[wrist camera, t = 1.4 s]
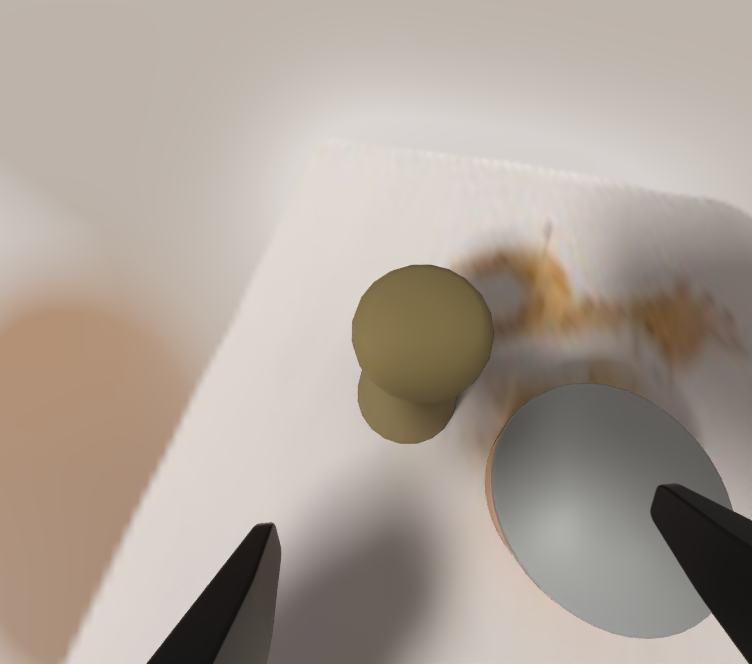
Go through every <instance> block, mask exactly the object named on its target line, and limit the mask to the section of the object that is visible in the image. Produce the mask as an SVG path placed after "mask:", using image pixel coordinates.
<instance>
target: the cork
mask: <svg viewBox="0 0 752 664" xmlns="http://www.w3.org/2000/svg"><path fill="white" fill-rule="evenodd" d="M493 338H494V330H493V323H492V317H491V312H490V310H489V308H488V306H487V304H486V303H485V301H484V299H483V297H482V295H481V294H480V293H479V292H478V291H477V290H476V289H475V288H474V287H473V286H472V285H471V284H470V283H469V282H468V281H467V280H466V279H465V278H463V277H462V276H460V275H458V274H456V273H455V272H453V271H451V270H449V269H446V268H442V267H438V266H434V265H410V266H407V267H403V268H400V269H396V270H393V271H391V272H389V273H387V274H386V275H384V276H383V277H381V278H380V279H378V280H377V281H375V282H374V283H373V284H372V285H371V286H370V287H369V289H368V290H367V291H366V292H365V294H364V295H363V296H362V297H361V300H360V302H359V305H358V308H357V310H356V313H355V316H354V318H353V321H352V343H353V347H354V350H355V353H356V356H357V359H358V362H359V365H360V367H361V368H362V372H361V376H360V380H359V384H358V403H359V406H360V409H361V413H362V416H363V417H364V419H365V420H366V421H367V423H368V424H369V426H370V427H371V428H372V429H373V430H374V431H375V432H377V433H378V434H379V435H381V436H382V437H383V438H385V439H388V440H391V441H394V442H397V443H400V444H417V443H420V442H423V441H425V440H428V439H431V438H433V437H434V436H435V435H437V434H438V433H439V432H440V431H442V430H443V429H444V428H445V426H446V425H447V423H448V422H449V420H450V419H451V417H452V415H453V411H454V407H455V403H456V399H457V395H458V394H459V393H460V392H462V391H463V390H464V389H466V388H467V387H468V386H469V385H471V384H472V383H473V382H474V381H475V380H476V379H477V378H478V377H479V375H480V374H481V372H482V370H483V369H484V367H485V366H486V364H487V362H488V361H489V358H490V353H491V348H492V343H493Z"/></svg>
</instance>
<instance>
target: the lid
mask: <svg viewBox="0 0 752 664" xmlns="http://www.w3.org/2000/svg"><path fill="white" fill-rule="evenodd" d="M671 483H676V484H680V485H682V486H685V487H687V488H689V489H690V490H692V491H694V492H696V493H698V494H700V495H702V496H704V497H706V498H708V499H710V500H712V501H714V502H716V503H718V504H720V505H722V506H724V507H726V508H728V509H730V510H732V511H733V509H732V506H731V503H730V499H729V496H728V493H727V491H726V488H725V486H724V484H723V481H722V479H721V477H720V475H719V473H718V472H717V470H716V468H715V466H714V464H713V463H712V461H711V460H710V458H709V457H708V455H707V454H706V452H705V451H704V449H703V448H702V447H701V446H700V444H699V443H698V442H697V441H696V440H695V438H694V437H693V436H692V435H691V434H690V433H689V432H688V431H687V430H686V429H685V428H684V427H683V426H682V425H681V424H680V423H679V422H678V421H677V420H675V419H674V418H673V417H672V416H670V415H669V414H668V413H667V412H665V411H664V410H662V409H661V408H659V407H658V406H656V405H655V404H653V403H652V402H650V401H648V400H646V399H644V398H642V397H640V396H638V395H636V394H633V393H631V392H628V391H626V390H623V389H619V388H616V387H612V386H607V385H601V384H590V383H580V384H570V385H565V386H560V387H557V388H554V389H551V390H549V391H546V392H544V393H542V394H541V395H539V396H537V397H535V398H533V399H532V400H530V401H529V402H527V403H526V404H525V405H523V406H522V407H521V408H520V409H519V410H518V411H517V412H516V413H515V414H514V415H513V416H512V417H511V418H510V420H509V421H508V423H507V424H506V425H505V427H504V429H503V431H502V433H501V435H500V437H499V439H498V442H497V445H496V448H495V451H494V455H493V461H492V467H491V490H492V499H493V504H494V509H495V513H496V517H497V520H498V523H499V526H500V529H501V531H502V534H503V536H504V538H505V540H506V543H507V545H508V546H509V548H510V550H511V552H512V553H513V555H514V557H515V559H516V560H517V562H518V563H519V564H520V566H521V567H522V569H523V570H524V571H525V573H526V574H527V575H528V576H529V577H530V578H531V580H532V581H533V582H534V583H535V584H536V585H537V586H538V587H539V588H540V589H541V590H542V591H543V592H544V593H545V594H546V595H548V596H549V597H550V598H551V599H552V600H553V601H555V602H556V603H558V604H559V605H560V606H562V607H563V608H565V609H566V610H567V611H569V612H570V613H572V614H573V615H575V616H576V617H578V618H580V619H582V620H584V621H585V622H587V623H589V624H591V625H593V626H595V627H597V628H600V629H603V630H605V631H608V632H610V633H613V634H618V635H622V636H626V637H632V638H645V639H651V638H662V637H668V636H671V635H675V634H679V633H682V632H684V631H686V630H688V629H690V628H692V627H694V626H696V625H697V624H699V623H700V622H701V621H703V620H704V619H705V618H707V617H708V616H709V615H710V614H711V611H710V610H709V608H708V607H707V606H706V604H705V603H704V601H703V600H702V598H701V597H700V596H699V594H698V593H697V591H696V590H695V588H694V587H693V585H692V584H691V582H690V580H689V579H688V577H687V576H686V574H685V572H684V571H683V569H682V568H681V566H680V564H679V563H678V561H677V559H676V558H675V556H674V555H673V553H672V551H671V550H670V548H669V546H668V545H667V543H666V542H665V540H664V538H663V537H662V535H661V533H660V532H659V530H658V529H657V527H656V525H655V524H654V522H653V520H652V518H651V514H650V508H651V504H652V501H653V497H654V494H655V490H656V488H657V487H658V486H659V485H661V484H671Z"/></svg>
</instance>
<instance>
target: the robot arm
mask: <svg viewBox="0 0 752 664" xmlns="http://www.w3.org/2000/svg"><path fill="white" fill-rule="evenodd" d="M650 514H651V518H652V520H653V522H654V524H655V525H656V527H657V529H658V530H659V532H660V533H661V535H662V537H663V538H664V540H665V542H666V543H667V545H668V546H669V548H670V550H671V551H672V553H673V555H674V556H675V558H676V559H677V561H678V563H679V564H680V566H681V568H682V569H683V571H684V572H685V574H686V576H687V577H688V579H689V580H690V582H691V584H692V585H693V587H694V588H695V590H696V591H697V593H698V594H699V596H700V597H701V598H702V600H703V601H704V603H705V604H706V606H707V607H708V608H709V610H710V611H711V612H712V614H713V615H714V616H715V618H716V619H717V621H718V622H719V623H720V625H721V626H722V627H723V629H724V630H725V632H726V633H727V634H728V636H729V637H730V638H731V640H732V641H733V643H734V644H735V645H736V647H737V648H738V649H739V651H740V652H741V654H742V655H743V656H744V658H745V659H746V660H747V662H748V663H749V664H752V520H750V519H748V518H746V517H744V516H742V515H740V514H738V513H736V512H734V511H732V510H730V509H728V508H726V507H724V506H722V505H720V504H718V503H716V502H714V501H712V500H710V499H708V498H706V497H704V496H702V495H700V494H698V493H696V492H694V491H692V490H690V489H689V488H687V487H685V486H682V485H680V484H676V483H671V484H661V485H659V486H658V487H657V488H656V490H655V494H654V497H653V501H652V504H651V508H650ZM280 563H281V546H280V542H279V538H278V534H277V530H276V526H275V524H274V523H271V522H270V523H260V524H257V525H255V526H254V527H253V528H252V530H251V531H250V532H249V533H248V535H247V536H246V537H245V539H244V540H243V541H242V542H241V544H240V545H239V546H238V548H237V549H236V550H235V551H234V553H233V554H232V555H231V556H230V558H229V559H228V560H227V562H226V563H225V564H224V565H223V567H222V568H221V569H220V570H219V572H218V573H217V574H216V576H215V577H214V578H213V579H212V581H211V582H210V583H209V585H208V586H207V587H206V588H205V590H204V591H203V592H202V593H201V595H200V596H199V597H198V599H197V600H196V601H195V602H194V604H193V605H192V606H191V608H190V609H189V610H188V611H187V613H186V614H185V615H184V616H183V618H182V619H181V620H180V622H179V623H178V624H177V625H176V627H175V628H174V629H173V630H172V632H171V633H170V634H169V636H168V637H167V638H166V639H165V641H164V642H163V643H162V645H161V646H160V647H159V648H158V650H157V651H156V652H155V653H154V655H153V656H152V657H151V659H150V660H149V661H148V662H147V664H266V663H267V658H268V654H269V649H270V643H271V638H272V631H273V624H274V615H275V606H276V598H277V589H278V580H279V571H280Z"/></svg>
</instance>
